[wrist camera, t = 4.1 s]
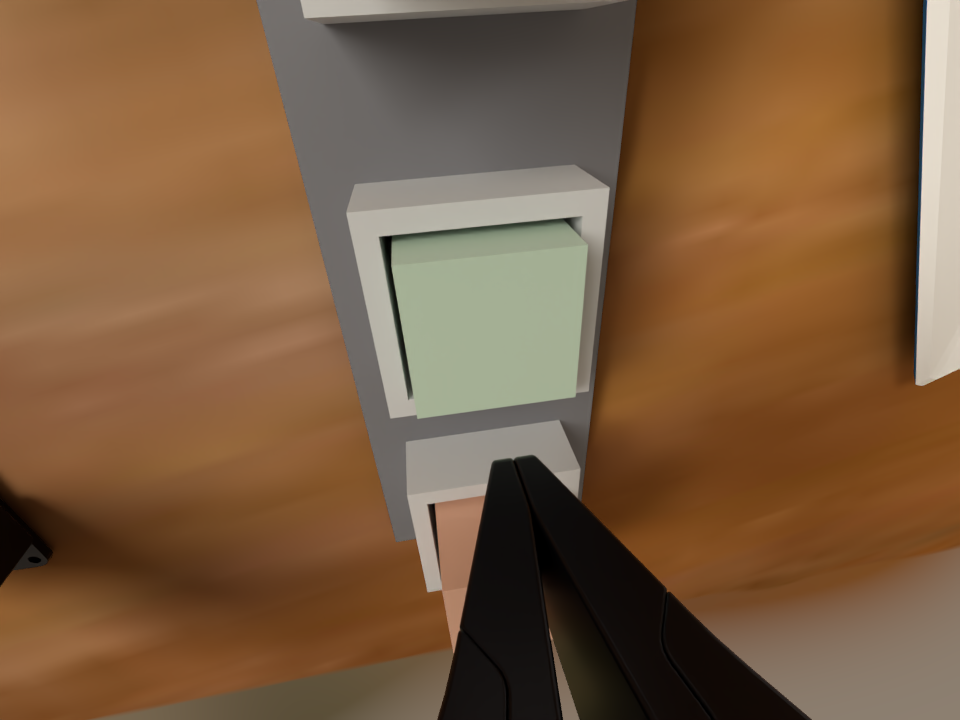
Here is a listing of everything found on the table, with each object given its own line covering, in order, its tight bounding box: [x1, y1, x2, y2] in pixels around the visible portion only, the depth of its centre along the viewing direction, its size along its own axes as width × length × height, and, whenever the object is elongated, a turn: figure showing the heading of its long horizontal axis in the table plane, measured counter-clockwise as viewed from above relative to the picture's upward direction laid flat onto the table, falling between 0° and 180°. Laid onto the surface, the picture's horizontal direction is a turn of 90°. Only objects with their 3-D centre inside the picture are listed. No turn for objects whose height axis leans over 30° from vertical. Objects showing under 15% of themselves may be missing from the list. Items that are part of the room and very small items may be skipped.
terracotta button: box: [435, 495, 553, 652], centre depth 19 cm, size 5×5×4 cm
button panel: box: [257, 0, 637, 592], centre depth 16 cm, size 10×29×4 cm, turn 3°
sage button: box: [391, 218, 588, 419], centre depth 15 cm, size 5×5×4 cm
